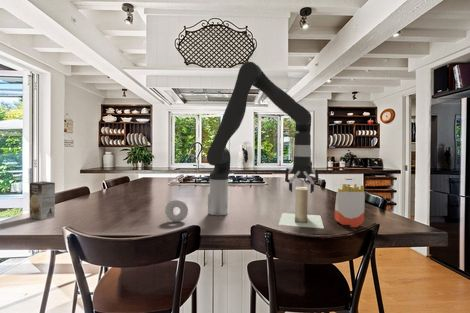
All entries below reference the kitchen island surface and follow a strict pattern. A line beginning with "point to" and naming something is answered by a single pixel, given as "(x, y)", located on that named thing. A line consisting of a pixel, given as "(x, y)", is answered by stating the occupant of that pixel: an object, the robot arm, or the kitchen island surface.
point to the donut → (179, 204)
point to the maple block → (301, 204)
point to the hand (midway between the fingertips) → (301, 192)
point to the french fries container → (350, 205)
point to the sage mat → (312, 222)
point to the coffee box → (42, 200)
